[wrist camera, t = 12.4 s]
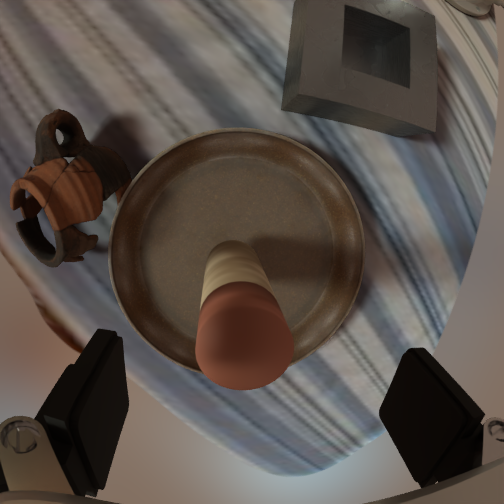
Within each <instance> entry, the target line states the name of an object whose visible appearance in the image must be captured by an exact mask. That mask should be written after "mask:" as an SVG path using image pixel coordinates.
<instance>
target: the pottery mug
mask: <svg viewBox="0 0 504 504" xmlns="http://www.w3.org/2000/svg"><path fill="white" fill-rule="evenodd" d="M56 129H58V130H60V131H61V132H62V134H63V136H64V140H63V142H62V144H60V145H59V143H58V142H57V139H56ZM35 142H36V154H35V158H34V160H33V163H34V165H35V166H36V167H34V168H32V167H31V166H30V167H29V168H28V170H27V171H26V173H25V175H24V177H23V178H20V179H18V180H16V181H15V183H14V184H13V185H12V188H11V192H10V205H11V209H12V210H16V209H18V208H19V207H20V209H21V213H22V215H23V218H24V220H23V221H20V222H17V223H16V228H17V231H18V232H19V235H20V237H21V239H22V240H23V242H24V244H25V245H26V246H27V248H28V249H29V251H30V252H31V253H32V254H33V255H34V256H36V258H37V259H38V260H39V261H40V262H41V263H44V264H45V265H47V266H49V267H58V266H59V265H60V264H61V262H63V261H64V262H77V261H83V260H84V258H83V256H79V255H83V254H84V253H85V252H86V251H88V250H91V249H93V248H94V247H95V246H96V243H97V241H98V236H97V235H89V236H88V235H87V234H85V233H82V232H81V231H79V230H78V229H77V228H76V227H74V226H73V225H72V224H78V223H81V222H87V221H92V220H96V219H97V217H98V216H99V215H100V214H101V212H102V210H103V201H105V200H107V199H108V198H109V197H110V196H111V194H113V193H114V192H115V193H116V196H117V204H118V205H119V203H120V201H121V198H122V197H123V195H124V193H125V191H126V190H127V188H128V187H129V185H130V184H131V182H132V178H131V175H130V172H129V170H128V168H127V166H126V164H125V163H124V161H123V160H122V159H121V157H120V156H119V155H118V154H117V153H116V152H114V151H112V150H110V149H108V148H106V147H100V146H95V145H94V146H93V145H90V143H89V141H88V140H87V139H86V137H85V135H84V132H83V129H82V127H81V125H80V123H79V121H78V120H77V118H76V117H75V116H73V115H72V114H71V113H69V112H67V111H65V110H61V109H57V110H55V111H54V112H53V113H51V114H49V115H46V116H45V117H44V118H43V119H42V120H41V122H40V123H39V125H38V128H37V131H36V141H35ZM63 157H75V158H74V159H73V160H72V161H71V162H70V164H69V163H68V162H67V160H66V159H65V158H63ZM25 190H27V191H28V192H30V193H31V195H30V196H29V197H28V198H26V197H25ZM42 207H43V208H44V211H45V213H46V215H47V217H48V219H49V221H50V223H51V226H52V229H53V230H54V235H55V240H56V250H55V247H54V246H53V245H52V244H51V243H50V242H49V241H48V240H47V239H46V238H45V237H44V235H43V233H42V230H41V227H40V224H39V221H38V217H37V214H38V213H39V212H40V210H41V209H42Z"/></svg>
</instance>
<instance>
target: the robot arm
mask: <svg viewBox="0 0 504 504" xmlns="http://www.w3.org/2000/svg"><path fill="white" fill-rule="evenodd" d="M446 1H448V2H449V3H450V4H451V5H453V6H454V7H456V8H457V9H459V10H460V11H462V12H464V13H466V14H469V15H472V16H482V15H485V14H487V13H488V12H489V11H490V9H491V4H493V3H494V4H496V5H501V6H502V7H503V8H504V0H446ZM128 408H129V397H128V390H127V382H126V372H125V362H124V350H123V339H122V337H119V336H117V333H116V331H111V330H105V329H97V331H96V332H95V334H94V335H93V336H92V338H91V339H90V341H89V342H88V344H87V345H86V347H85V348H84V350H83V351H82V353H81V355H80V356H79V358H78V359H77V361H76V362H75V364H70V365H68V367H67V368H66V369H65V370H64V372H63V374H62V375H61V377H60V378H59V380H58V381H57V383H56V384H55V386H54V388H53V389H52V391H51V393H50V394H49V395H48V397H47V399H46V400H45V402H44V404H43V405H42V407H41V408H40V410H39V412H38V414H37V415H36V417H35V418H34V419H32V418H30V417H26V416H14V417H12V418H8V419H7V420H5V421H4V422H2V423H1V424H0V504H119V503H113V502H108V501H103V500H97V499H93V498H88V497H85V495H90V496H93V497H96V496H97V492H98V489H101V490H103V489H104V488H105V485H106V481H107V478H108V474H109V471H110V467H111V464H112V460H113V457H114V454H115V450H116V447H117V444H118V441H119V437H120V434H121V431H122V428H123V425H124V421H125V418H126V415H127V412H128ZM484 415H485V413H484V412H483V411H482V410H481V409H480V408H479V406H478V405H477V404H476V403H475V402H474V401H473V400H472V399H471V397H470V396H469V395H468V394H467V393H466V392H465V391H464V390H463V389H462V388H461V386H460V385H459V384H458V383H457V382H456V381H455V380H454V379H453V378H452V377H451V376H450V374H449V373H447V371H446V370H445V369H444V368H443V367H442V366H441V365H440V364H439V363H438V362H437V361H436V359H435V358H434V357H433V356H432V355H431V354H430V353H429V352H428V351H427V350H426V349H425V348H410V349H408V350H407V351H406V353H404V354H403V356H402V358H401V360H400V363H399V366H398V368H397V370H396V373H395V375H394V378H393V380H392V382H391V385H390V387H389V389H388V392H387V394H386V396H385V398H384V400H383V403H382V405H381V407H380V409H379V416H380V419H381V420H382V422H383V424H384V426H385V428H386V429H387V431H388V433H389V435H390V437H391V438H392V440H393V442H394V444H395V446H396V447H397V449H398V451H399V453H400V455H401V457H402V458H403V460H404V462H405V464H406V466H407V468H408V469H409V471H410V473H411V475H412V477H413V479H414V480H415V481H416V482H418V483H419V485H420V487H421V489H418V490H415V491H411V492H408V493H405V494H401V495H397V496H394V497H390V498H386V499H382V500H378V501H373V502H368V503H364V504H504V420H503V419H500V418H495V417H494V418H489V419H487V420H486V422H485V423H484V424H483V425H482V424H481V423H480V422H481V421H482V419H483V417H484ZM437 481H438V483H436V482H437ZM435 483H436V484H435Z"/></svg>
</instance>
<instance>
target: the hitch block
mask: <svg viewBox="0 0 504 504" xmlns="http://www.w3.org/2000/svg"><path fill="white" fill-rule="evenodd" d="M437 91H438V66H437V39H436V25H435V16H433V15H431V14H429V13H427V12H425V11H423V10H421V9H419V8H417V7H415V6H413V5H411V4H409V3H406V2H404V1H402V0H295V2H294V8H293V16H292V25H291V33H290V41H289V50H288V58H287V66H286V74H285V82H284V90H283V98H282V106H281V110H283V111H289V112H295V113H300V114H305V115H310V116H315V117H320V118H325V119H329V120H334V121H338V122H343V123H347V124H351V125H355V126H359V127H363V128H367V129H370V130H374V131H378V132H381V133H385V134H388V135H392V136H395V137H401V136H409V135H417V134H426V133H435V132H436V119H437Z"/></svg>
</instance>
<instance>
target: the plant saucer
mask: <svg viewBox="0 0 504 504" xmlns="http://www.w3.org/2000/svg"><path fill="white" fill-rule="evenodd" d="M228 240H238V241H242V242H244V243H246V244H248V245H249V246H251V247H252V248H253V249H254V251H255V252H256V254H257V256H258V258H259V260H260V263H261V265H262V267H263V270H264V272H265V274H266V276H267V279H268V281H269V283H270V286H271V288H272V290H273V292H274V295H275V297H276V299H277V302H278V304H279V306H280V308H281V311H282V313H283V315H284V318H285V320H286V322H287V325H288V327H289V329H290V331H291V334H292V337H293V341H294V353H293V357H292V360H291V362H290V365H289V366H291V365H293V364H295V363H297V362H299V361H301V360H302V359H304V358H306V357H307V356H309V355H310V354H312V353H313V352H314V351H316V350H317V349H318V348H320V347H321V346H322V345H323V344H324V343H325V342H326V341H327V340H328V339H329V338H330V337H331V336H332V335H333V334H334V333H335V332H336V330H337V329H338V328H339V327H340V325H341V324H342V322H343V321H344V319H345V318H346V316H347V315H348V313H349V311H350V310H351V308H352V306H353V304H354V302H355V299H356V297H357V294H358V291H359V288H360V285H361V282H362V277H363V272H364V264H365V238H364V231H363V225H362V221H361V217H360V214H359V211H358V208H357V206H356V204H355V201H354V199H353V197H352V195H351V193H350V192H349V190H348V188H347V187H346V185H345V184H344V182H343V181H342V179H341V178H340V177H339V175H338V174H337V173H336V172H335V171H334V170H333V168H332V167H331V166H330V165H329V164H328V163H327V162H326V161H324V160H323V159H322V158H321V157H320V156H319V155H317V154H316V153H314V152H313V151H312V150H310V149H309V148H307V147H306V146H304V145H302V144H300V143H298V142H296V141H294V140H292V139H290V138H288V137H286V136H283V135H280V134H276V133H273V132H269V131H265V130H260V129H253V128H223V129H216V130H211V131H206V132H203V133H200V134H196V135H193V136H190V137H188V138H186V139H183V140H181V141H179V142H177V143H175V144H174V145H172V146H170V147H169V148H167V149H165V150H164V151H162V152H161V153H160V154H158V155H157V156H156V157H155V158H153V159H152V160H151V161H150V162H149V163H148V164H147V165H146V166H145V167H144V168H143V169H142V170H141V171H140V172H139V173H138V174H137V176H136V177H135V178H134V179H133V181H132V182H131V184H130V185H129V187H128V188H127V190H126V191H125V193H124V195H123V197H122V198H121V201H120V203H119V205H118V208H117V210H116V213H115V216H114V219H113V222H112V226H111V230H110V237H109V245H108V263H109V272H110V278H111V283H112V287H113V290H114V293H115V296H116V298H117V301H118V303H119V305H120V307H121V310H122V312H123V313H124V315H125V317H126V318H127V320H128V321H129V323H130V324H131V326H132V327H133V328H134V330H135V331H136V332H137V333H138V335H139V336H140V337H141V338H142V339H143V340H144V341H145V342H146V343H147V344H148V345H149V346H151V347H152V348H153V349H154V350H155V351H157V352H158V353H160V354H161V355H162V356H164V357H165V358H167V359H168V360H170V361H172V362H174V363H176V364H177V365H179V366H182V367H184V368H186V369H189V370H192V371H195V372H198V373H202V374H204V373H203V372H202V370H201V369H200V367H199V365H198V362H197V360H196V354H195V347H196V338H197V330H198V322H199V313H200V306H201V298H202V290H203V283H204V275H205V268H206V261H207V258H208V255H209V253H210V252H211V250H212V249H213V248H214V247H215V246H216V245H218V244H219V243H221V242H224V241H228ZM289 366H288V367H289Z"/></svg>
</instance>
